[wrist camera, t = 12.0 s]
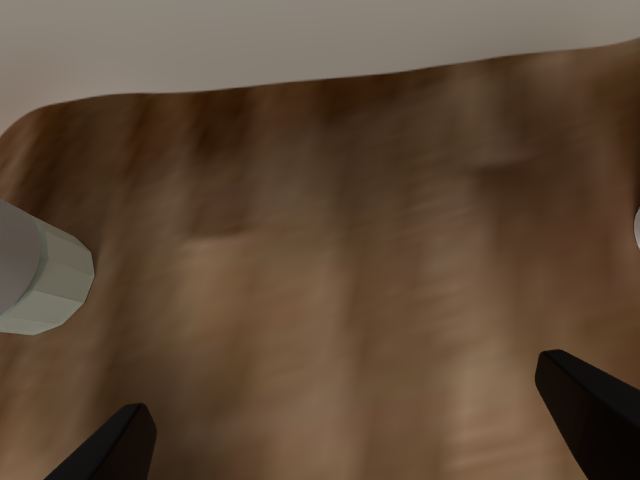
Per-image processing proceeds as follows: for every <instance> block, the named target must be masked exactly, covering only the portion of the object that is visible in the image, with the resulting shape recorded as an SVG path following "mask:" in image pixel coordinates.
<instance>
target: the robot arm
mask: <svg viewBox="0 0 640 480" xmlns="http://www.w3.org/2000/svg"><path fill="white" fill-rule="evenodd" d="M535 384H536V387H537V389H538V391H539V393H540V395H541V397H542V399H543V401H544V402H545V404H546V406H547V408H548V410H549V412H550V414H551V416H552V417H553V419H554V421H555V423H556V425H557V427H558V429H559V431H560V433H561V434H562V436H563V438H564V440H565V442H566V444H567V446H568V447H569V449H570V451H571V453H572V455H573V456H574V458H575V460H576V461H577V463H578V464H579V466H580V468H581V469H582V471H583V472H584V474H585V475H586V477H587V478H588V480H640V390H639V389H637V388H635V387H633V386H631V385H629V384H627V383H625V382H623V381H621V380H619V379H617V378H616V377H614V376H612V375H610V374H608V373H606V372H604V371H602V370H600V369H598V368H596V367H594V366H592V365H590V364H588V363H587V362H585V361H583V360H581V359H579V358H577V357H575V356H573V355H571V354H569V353H567V352H565V351H563V350H559V349H556V350H548V351H543V352H541V353H540V354H539V358H538V363H537V368H536V373H535ZM156 437H157V429H156V425H155V423H154V421H153V418H152V416H151V414H150V412H149V410H148V408H147V406H146V405H145V404H144V403H134V404H127V405H125V406H123V407H122V408H121V409H119V410H118V411H117V412H116V413H115V414H114V415H113V416H112V417H111V418H110V419H109V420H108V421H106V422H105V423H104V424H103V425H102V426H101V427H100V428H99V429H98V430H97V431H96V432H95V433H93V434H92V435H91V436H90V437H89V438H88V439H87V440H86V441H85V442H84V443H83V444H82V445H80V446H79V447H78V448H77V449H76V450H75V451H74V452H73V453H72V454H71V455H70V456H69V457H67V458H66V459H65V460H64V461H63V462H62V463H61V464H60V465H59V466H58V467H57V468H56V469H54V470H53V471H52V472H51V473H50V474H49V475H48V476H47V477H46V478H45V479H44V480H147V478H148V473H149V469H150V464H151V460H152V455H153V451H154V446H155V442H156Z"/></svg>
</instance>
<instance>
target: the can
mask: <svg viewBox="0 0 640 480" xmlns="http://www.w3.org/2000/svg"><path fill="white" fill-rule="evenodd" d="M40 249H41V240H40V236H39V232H38V228H37V225H36V224H35V223H34V221H33V220H32V219H31V217H30V216H29V215H28V213H27V212H25V211H23V210H21V209H19V208H17V207H15V206H14V205H12V204H10V203H8V202H6V201H4V200H2V199H0V315H2V314H3V313H4V312H5V311H7V310H8V309H9V308H10V307H12V306H13V305H14V304H15V303H16V301H17V300H18V299H19V298H20V297H21V296H22V295H23V293H24V292H25V291H26V289H27V288H28V287H29V286H30V284H31V282H32V280H33V278H34V275H35V273H36V271H37V268H38V264H39V257H40Z"/></svg>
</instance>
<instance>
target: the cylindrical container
mask: <svg viewBox="0 0 640 480" xmlns="http://www.w3.org/2000/svg"><path fill="white" fill-rule="evenodd" d="M634 234H635V238H636V242H637V244H638V247H639V249H640V208H639V210H638V212H637V214H636V217H635V221H634Z"/></svg>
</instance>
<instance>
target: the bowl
mask: <svg viewBox="0 0 640 480" xmlns="http://www.w3.org/2000/svg"><path fill="white" fill-rule="evenodd" d="M28 215H29V216H30V217H31V219H32V220H33V221H34V223H35V224H36V225H37V228H38V232H39V236H40V240H41V249H40V257H39V264H38V268H37V271H36V273H35V275H34V278H33V280H32V282H31V284H30V286H29V287H28V288H27V289H26V291H25V292H24V293H23V295H22V296H21V297H20V298H19V299H18V300H17V301H16V303H15V304H14V305H13V306H12V307H10V308H9V309H8V310H7V311H5V312H4V313H3V314H2V315H0V332H7V333H17V334H26V335H36V334H39V333H42V332H44V331H47V330H50V329H52V328H55V327H58V326H60V325H63V324H64V323H65V322H66V321H67V320H68V319H69V318H70V317H71V316H72V315H73V314H74V313H75V312H76V311H77V310H78V309H79V308H80V307H81V306H82V305H83V304H84V303H85V300H86V298H87V295H88V292H89V290H90V287H91V285H92V282H93V279H94V277H95V274H94V268H93V261H92V255H91V252H90V251H89V250H88V249H87V248H86V247H85V246H84V245H83V244H82V243H81V242H80V241H79V240H78V239H77V238H76V237H74V236H72V235H70V234H68V233H66V232H64V231H62V230H60V229H58V228H56V227H54V226H52V225H50V224H48V223H46V222H44V221H42V220H40V219H38V218H36V217H34V216H32V215H30V214H28Z"/></svg>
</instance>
